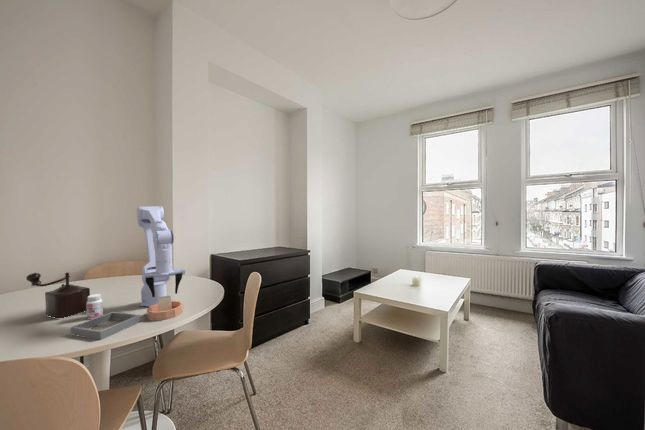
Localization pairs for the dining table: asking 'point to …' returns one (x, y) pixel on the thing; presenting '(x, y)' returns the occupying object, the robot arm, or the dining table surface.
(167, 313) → the bowl
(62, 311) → the manual coffee grinder
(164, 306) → the sandstone block
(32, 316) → the dining table surface
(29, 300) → the dining table surface
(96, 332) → the tray
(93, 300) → the pill bottle
